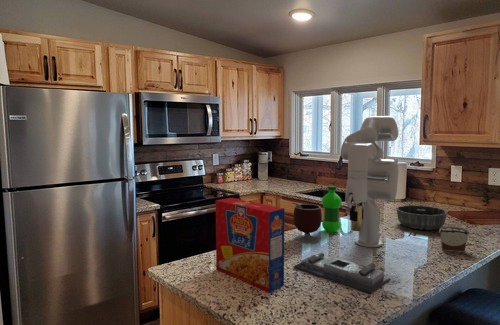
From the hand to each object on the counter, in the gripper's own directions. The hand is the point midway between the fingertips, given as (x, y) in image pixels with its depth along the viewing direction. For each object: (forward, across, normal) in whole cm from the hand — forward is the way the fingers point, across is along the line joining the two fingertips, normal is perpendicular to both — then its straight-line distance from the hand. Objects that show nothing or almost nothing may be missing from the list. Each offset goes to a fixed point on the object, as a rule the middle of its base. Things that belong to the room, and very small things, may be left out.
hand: (356, 219), depth 141 cm
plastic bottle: (+19, -35, -33) cm, 52 cm away
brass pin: (+4, 0, 0) cm, 4 cm away
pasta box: (+19, +39, -23) cm, 49 cm away
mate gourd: (+19, -13, -34) cm, 41 cm away
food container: (+19, -50, +22) cm, 58 cm away
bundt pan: (+20, -80, -2) cm, 83 cm away
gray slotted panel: (+19, +12, 0) cm, 23 cm away
